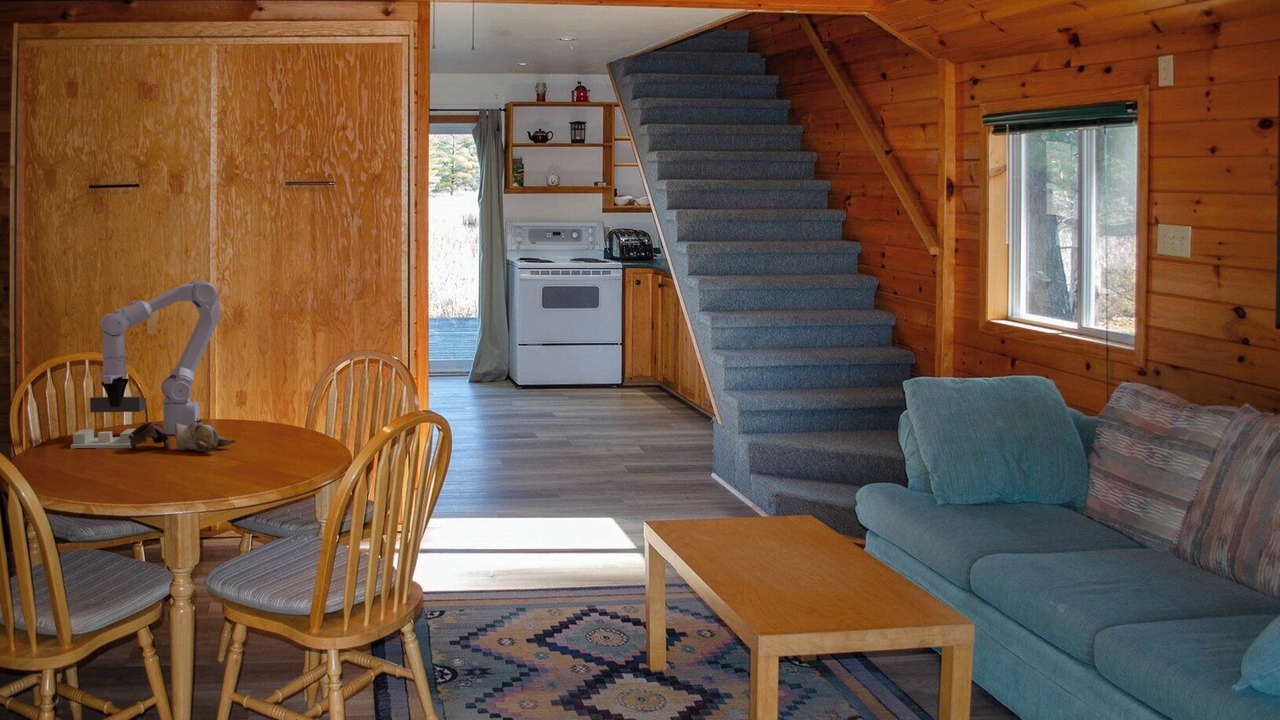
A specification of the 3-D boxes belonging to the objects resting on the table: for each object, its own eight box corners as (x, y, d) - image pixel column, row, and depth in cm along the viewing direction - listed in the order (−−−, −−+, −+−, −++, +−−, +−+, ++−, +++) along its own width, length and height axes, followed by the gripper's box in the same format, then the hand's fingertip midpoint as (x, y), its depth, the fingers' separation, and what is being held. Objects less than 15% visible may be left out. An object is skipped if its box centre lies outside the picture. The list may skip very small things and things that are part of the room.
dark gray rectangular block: (146, 408, 347) (146, 394, 347) (139, 411, 341) (139, 397, 340) (98, 408, 346) (97, 394, 345) (90, 412, 339) (89, 397, 338)
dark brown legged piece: (169, 454, 323) (151, 428, 320) (138, 469, 323) (119, 444, 320) (180, 434, 334) (163, 409, 331) (149, 449, 335) (132, 424, 331)
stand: (141, 440, 338) (140, 427, 338) (130, 448, 327) (129, 435, 327) (83, 441, 336) (83, 428, 336) (70, 448, 325) (70, 435, 325)
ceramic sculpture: (186, 413, 330) (237, 419, 328) (185, 445, 332) (237, 451, 329) (164, 420, 320) (217, 426, 318) (163, 453, 321) (216, 459, 319)
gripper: (106, 354, 345) (108, 401, 347) (90, 360, 331) (93, 410, 333) (133, 353, 346) (134, 401, 348) (118, 360, 332) (120, 409, 334)
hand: (116, 405), depth 341 cm, fingers closed on dark gray rectangular block, 2 cm apart
